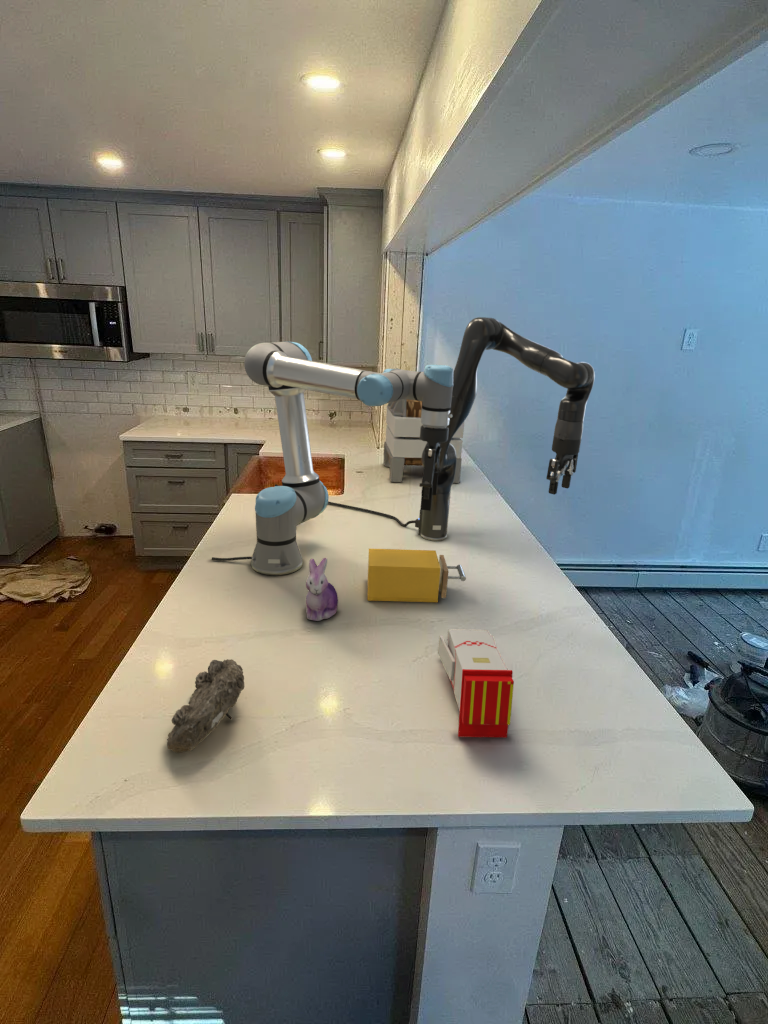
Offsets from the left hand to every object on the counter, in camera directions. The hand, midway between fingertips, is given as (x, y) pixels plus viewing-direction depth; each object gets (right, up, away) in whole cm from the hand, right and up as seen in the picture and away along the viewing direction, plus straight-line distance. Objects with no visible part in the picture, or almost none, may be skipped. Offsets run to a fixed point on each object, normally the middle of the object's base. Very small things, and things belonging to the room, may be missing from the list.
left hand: (428, 501), depth 157 cm
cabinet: (-7, -25, +3) cm, 26 cm away
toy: (+6, -41, -38) cm, 56 cm away
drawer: (-2, -24, +3) cm, 25 cm away
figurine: (-29, -29, -11) cm, 42 cm away
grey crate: (+5, +16, +118) cm, 119 cm away
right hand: (+38, +3, +8) cm, 39 cm away
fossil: (-45, -42, -49) cm, 78 cm away
